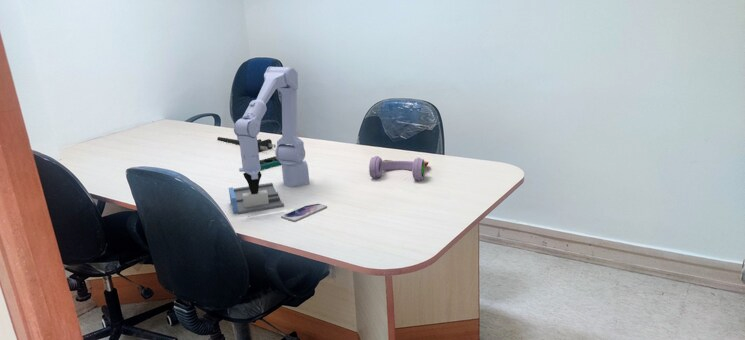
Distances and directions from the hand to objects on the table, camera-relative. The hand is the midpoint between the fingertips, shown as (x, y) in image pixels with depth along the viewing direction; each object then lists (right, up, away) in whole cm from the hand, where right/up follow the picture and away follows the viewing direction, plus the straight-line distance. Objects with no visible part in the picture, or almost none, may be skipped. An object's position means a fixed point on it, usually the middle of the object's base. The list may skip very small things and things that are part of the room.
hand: (254, 193), depth 184 cm
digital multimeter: (-4, +9, +46) cm, 47 cm away
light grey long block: (+2, -3, +2) cm, 4 cm away
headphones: (+51, +6, +28) cm, 58 cm away
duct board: (-1, -3, +7) cm, 7 cm away
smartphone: (+18, -6, -5) cm, 19 cm away
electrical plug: (-22, +19, +78) cm, 84 cm away
